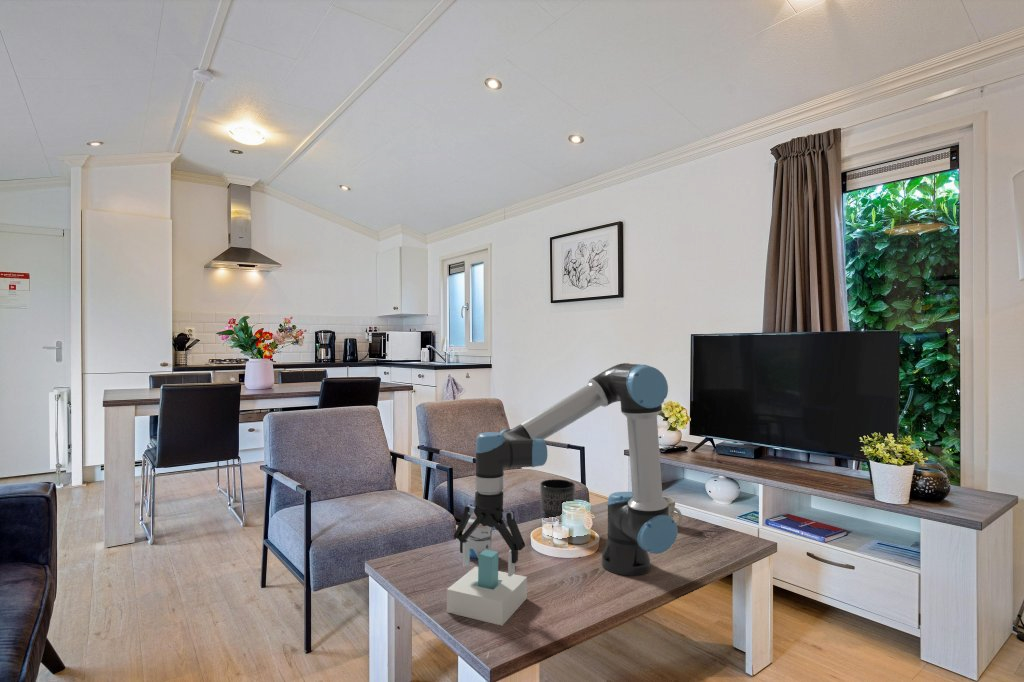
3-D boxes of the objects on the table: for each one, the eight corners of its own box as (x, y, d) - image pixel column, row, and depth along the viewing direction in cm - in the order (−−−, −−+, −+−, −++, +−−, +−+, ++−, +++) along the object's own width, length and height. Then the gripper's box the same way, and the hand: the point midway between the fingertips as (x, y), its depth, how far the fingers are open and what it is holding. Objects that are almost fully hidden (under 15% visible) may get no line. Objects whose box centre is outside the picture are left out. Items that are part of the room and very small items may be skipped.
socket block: (526, 598, 153) (526, 576, 153) (502, 625, 139) (502, 601, 139) (475, 587, 160) (475, 566, 160) (446, 612, 145) (447, 589, 145)
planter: (537, 525, 213) (538, 479, 213) (571, 525, 214) (571, 479, 214) (541, 537, 200) (542, 488, 200) (577, 537, 201) (578, 488, 201)
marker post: (497, 603, 150) (498, 551, 150) (491, 610, 147) (491, 557, 146) (484, 600, 152) (485, 549, 152) (477, 606, 148) (478, 554, 148)
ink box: (463, 557, 181) (464, 512, 181) (466, 551, 186) (467, 507, 186) (489, 559, 180) (490, 513, 180) (491, 553, 185) (492, 509, 185)
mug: (661, 520, 220) (661, 495, 220) (688, 529, 211) (689, 503, 211) (648, 525, 215) (648, 499, 215) (676, 534, 205) (676, 507, 205)
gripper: (537, 493, 147) (536, 572, 148) (455, 482, 157) (454, 556, 158) (527, 500, 141) (525, 584, 141) (441, 488, 151) (440, 566, 151)
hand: (488, 569), depth 149 cm, fingers open, 13 cm apart
